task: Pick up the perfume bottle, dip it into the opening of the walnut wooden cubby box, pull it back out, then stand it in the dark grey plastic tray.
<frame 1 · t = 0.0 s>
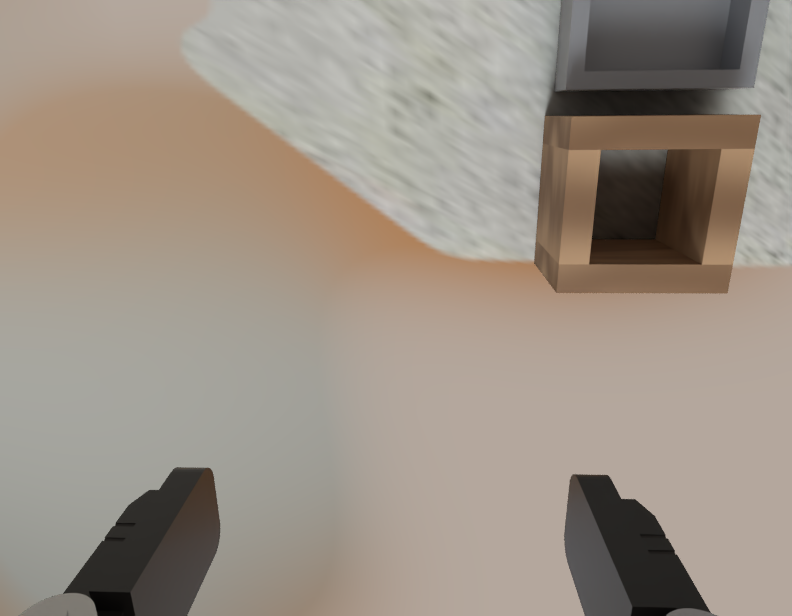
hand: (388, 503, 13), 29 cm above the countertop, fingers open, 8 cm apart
wooden cubby box: (613, 192, 39), on the countertop
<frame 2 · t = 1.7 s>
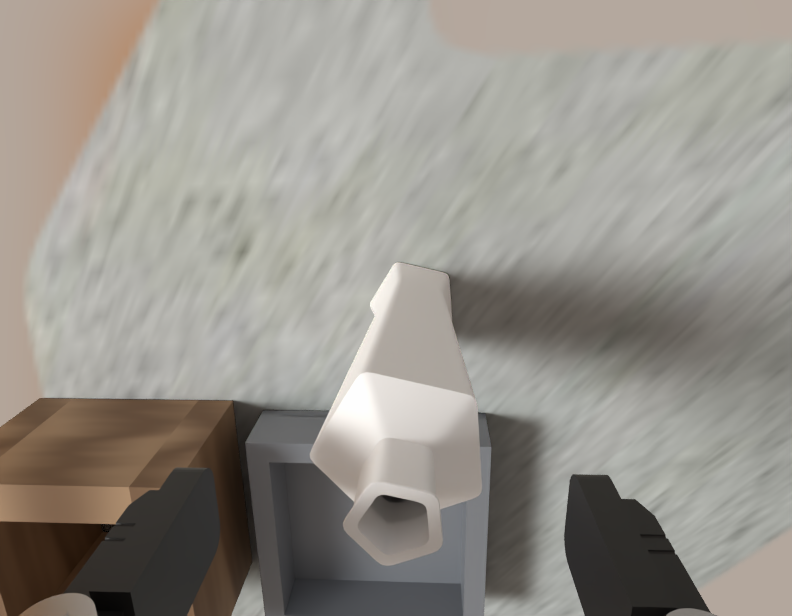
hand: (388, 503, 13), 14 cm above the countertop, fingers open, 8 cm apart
tray: (375, 504, 30), on the countertop
wooden cubby box: (150, 483, 30), on the countertop
perfume bottle: (412, 304, 26), on the countertop
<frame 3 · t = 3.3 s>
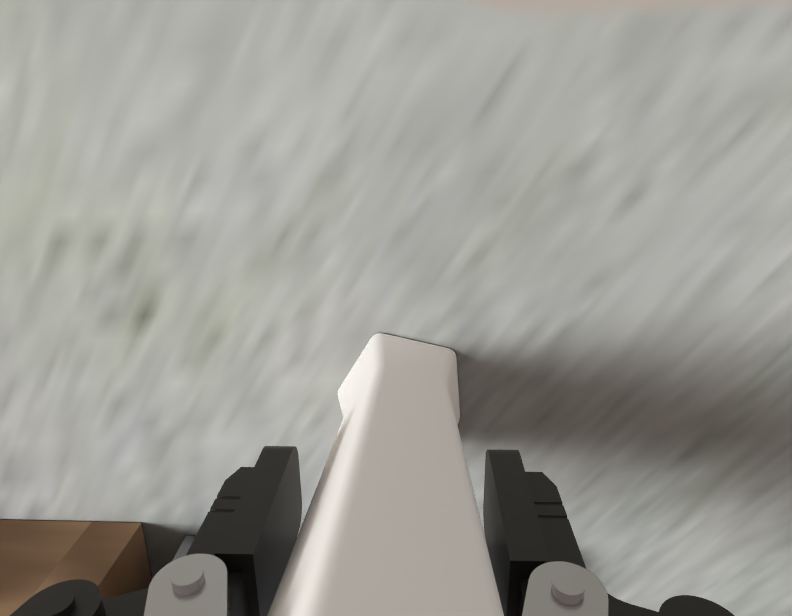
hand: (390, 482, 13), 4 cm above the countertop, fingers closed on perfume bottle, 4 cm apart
perfume bottle: (401, 392, 18), on the countertop, touching gripper
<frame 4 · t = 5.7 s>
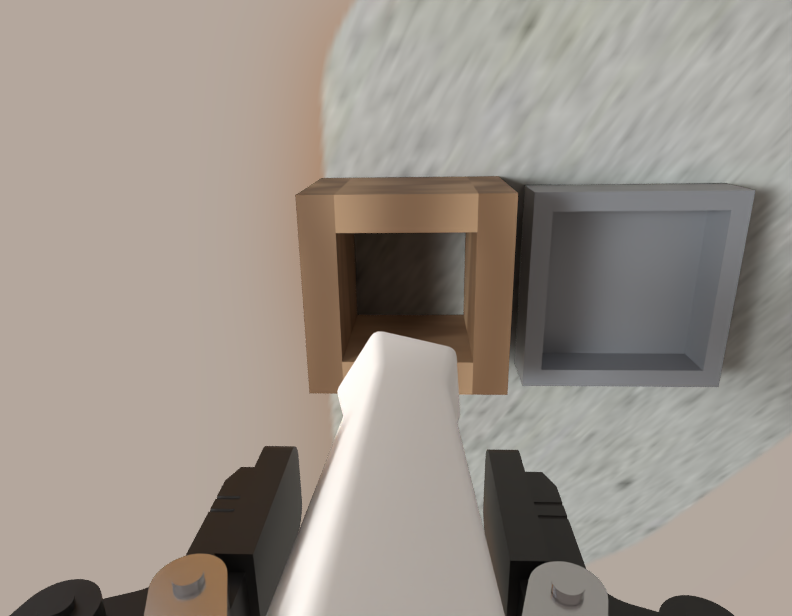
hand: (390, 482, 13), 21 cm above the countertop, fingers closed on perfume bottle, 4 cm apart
tray: (613, 279, 34), on the countertop
wooden cubby box: (409, 263, 34), on the countertop
perfume bottle: (401, 391, 18), point 17 cm above the countertop, touching gripper
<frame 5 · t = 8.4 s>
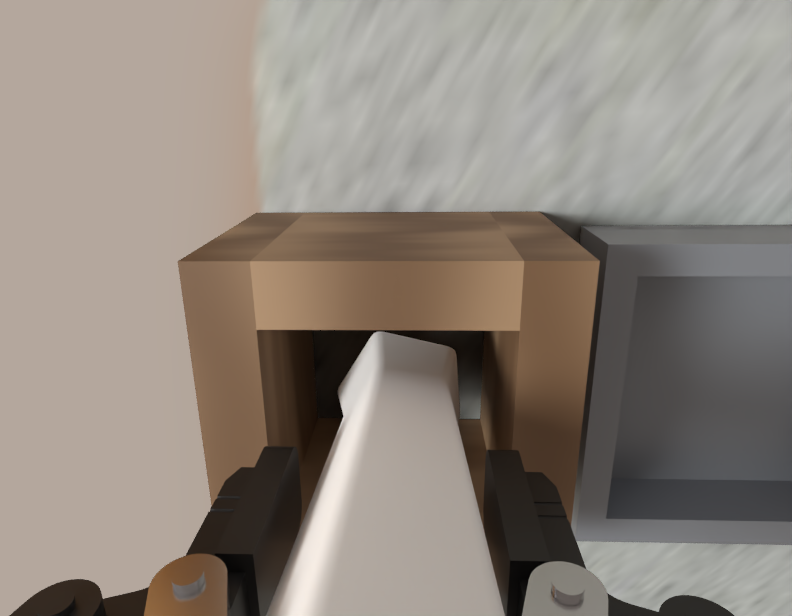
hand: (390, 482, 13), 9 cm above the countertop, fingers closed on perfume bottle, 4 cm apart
tray: (714, 369, 22), on the countertop
wooden cubby box: (397, 343, 22), on the countertop
perfume bottle: (401, 391, 18), point 4 cm above the countertop, touching gripper
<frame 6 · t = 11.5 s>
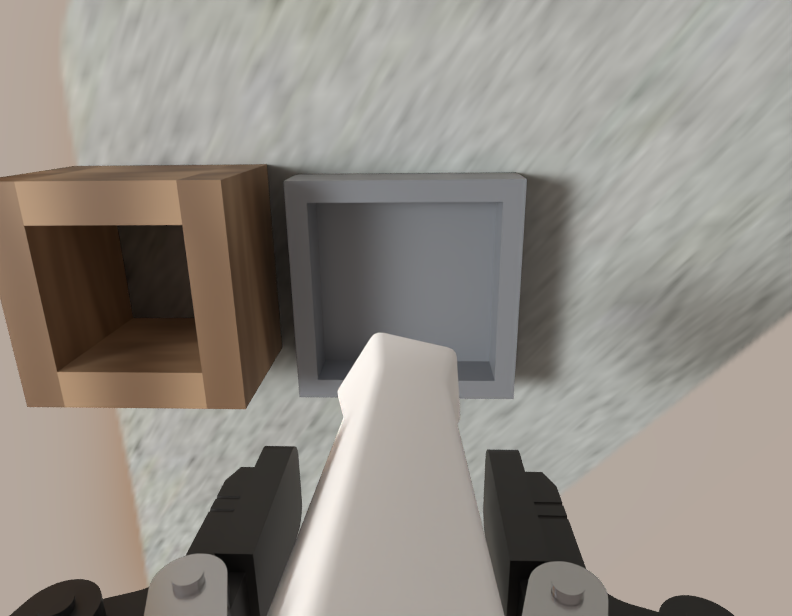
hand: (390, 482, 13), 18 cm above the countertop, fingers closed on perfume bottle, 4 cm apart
tray: (406, 278, 30), on the countertop
wooden cubby box: (182, 261, 31), on the countertop
perfume bottle: (401, 392, 18), point 13 cm above the countertop, touching gripper
when the fingers open (6 cm above the countertop, at t = 13.9 s): perfume bottle stays where it is, resting on tray.
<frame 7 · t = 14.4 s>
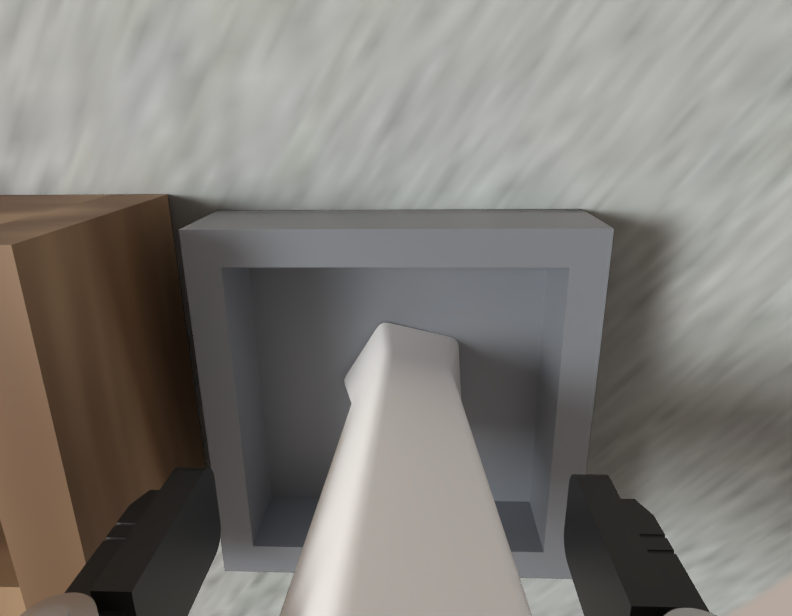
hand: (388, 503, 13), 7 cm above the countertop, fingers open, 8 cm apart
tray: (398, 375, 19), on the countertop
wooden cubby box: (42, 345, 19), on the countertop
perfume bottle: (405, 380, 19), resting on tray
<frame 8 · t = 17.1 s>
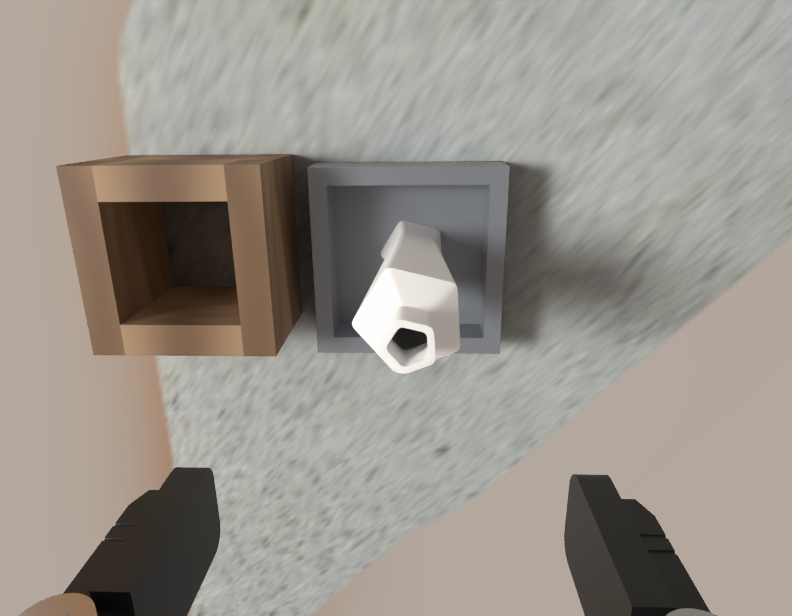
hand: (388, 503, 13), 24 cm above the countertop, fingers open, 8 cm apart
tray: (409, 252, 36), on the countertop
wooden cubby box: (217, 237, 36), on the countertop
perfume bottle: (412, 253, 35), resting on tray
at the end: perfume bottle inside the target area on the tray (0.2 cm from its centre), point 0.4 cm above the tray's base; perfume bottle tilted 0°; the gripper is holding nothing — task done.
